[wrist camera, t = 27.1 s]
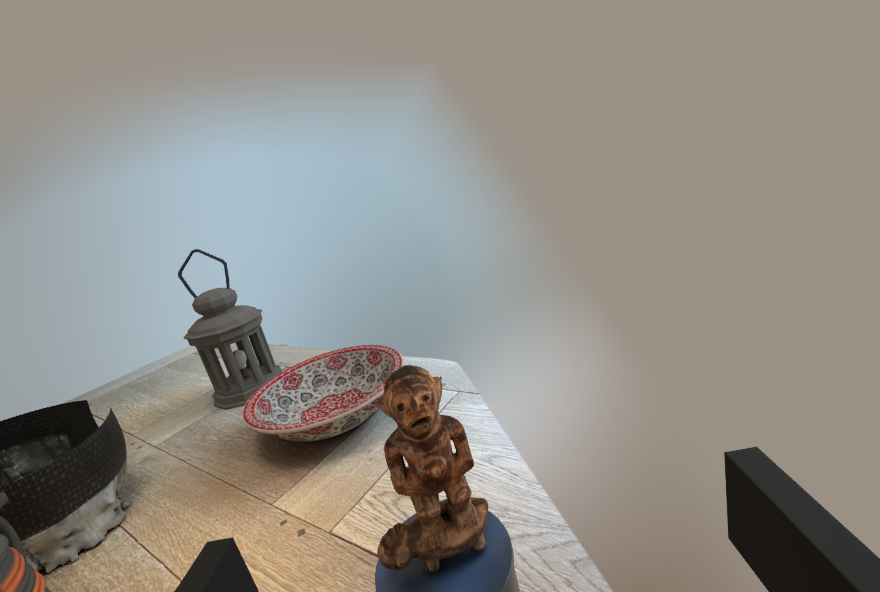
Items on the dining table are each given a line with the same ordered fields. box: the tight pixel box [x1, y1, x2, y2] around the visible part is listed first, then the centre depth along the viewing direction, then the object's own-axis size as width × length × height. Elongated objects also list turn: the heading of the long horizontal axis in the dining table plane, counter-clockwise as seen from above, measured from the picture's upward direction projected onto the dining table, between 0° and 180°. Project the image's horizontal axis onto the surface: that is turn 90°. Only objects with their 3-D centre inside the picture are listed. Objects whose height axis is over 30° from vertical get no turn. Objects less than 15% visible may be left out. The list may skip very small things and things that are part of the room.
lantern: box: [178, 249, 282, 409], centre depth 95 cm, size 17×17×35 cm
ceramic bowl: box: [242, 345, 404, 441], centre depth 76 cm, size 29×29×8 cm
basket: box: [0, 400, 131, 573], centre depth 63 cm, size 28×35×16 cm
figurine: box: [377, 365, 488, 574], centre depth 29 cm, size 7×7×15 cm
